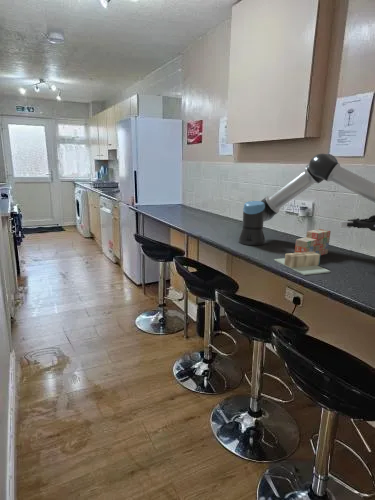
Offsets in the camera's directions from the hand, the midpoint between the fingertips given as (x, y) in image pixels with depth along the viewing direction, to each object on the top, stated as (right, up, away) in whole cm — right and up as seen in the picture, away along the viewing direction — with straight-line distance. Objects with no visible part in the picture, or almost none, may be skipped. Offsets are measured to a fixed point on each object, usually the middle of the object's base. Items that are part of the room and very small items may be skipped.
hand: (340, 224), depth 149 cm
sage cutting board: (-18, -19, -1) cm, 26 cm away
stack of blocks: (-7, -15, +17) cm, 23 cm away
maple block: (-11, -15, +1) cm, 19 cm away
